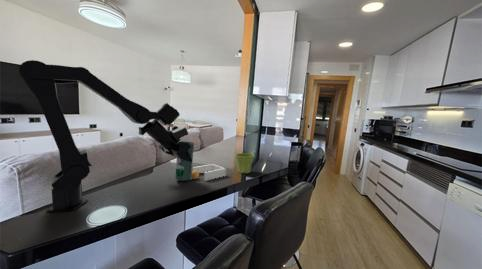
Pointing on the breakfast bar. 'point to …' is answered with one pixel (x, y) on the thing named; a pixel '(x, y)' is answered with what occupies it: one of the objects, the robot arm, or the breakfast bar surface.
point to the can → (184, 166)
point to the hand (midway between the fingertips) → (187, 159)
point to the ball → (194, 174)
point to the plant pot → (244, 162)
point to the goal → (211, 171)
